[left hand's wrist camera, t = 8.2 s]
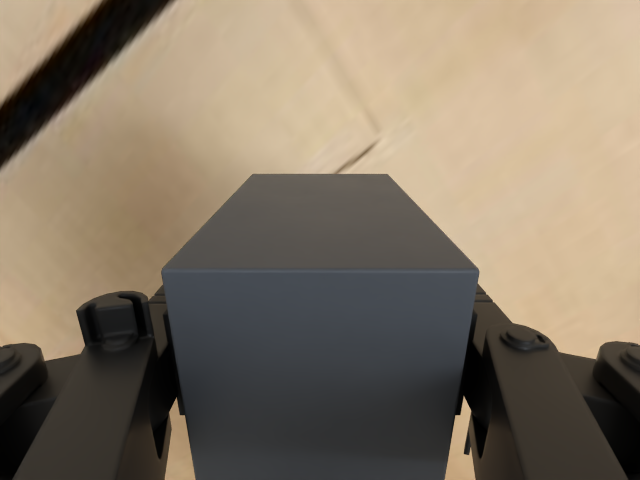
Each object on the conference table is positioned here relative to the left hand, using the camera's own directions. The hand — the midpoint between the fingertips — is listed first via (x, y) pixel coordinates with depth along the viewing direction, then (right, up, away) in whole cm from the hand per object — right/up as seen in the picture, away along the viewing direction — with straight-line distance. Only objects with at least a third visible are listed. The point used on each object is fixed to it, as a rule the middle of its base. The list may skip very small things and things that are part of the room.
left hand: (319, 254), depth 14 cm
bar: (0, -7, +3) cm, 8 cm away
